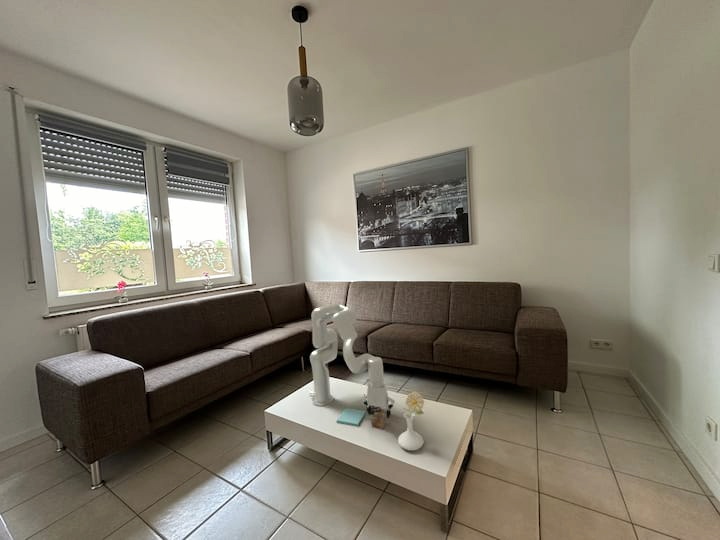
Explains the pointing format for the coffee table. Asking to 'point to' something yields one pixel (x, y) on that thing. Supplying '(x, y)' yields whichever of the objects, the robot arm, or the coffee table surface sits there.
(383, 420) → the walnut block
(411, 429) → the flower in vase
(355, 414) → the teal board
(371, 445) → the coffee table surface
